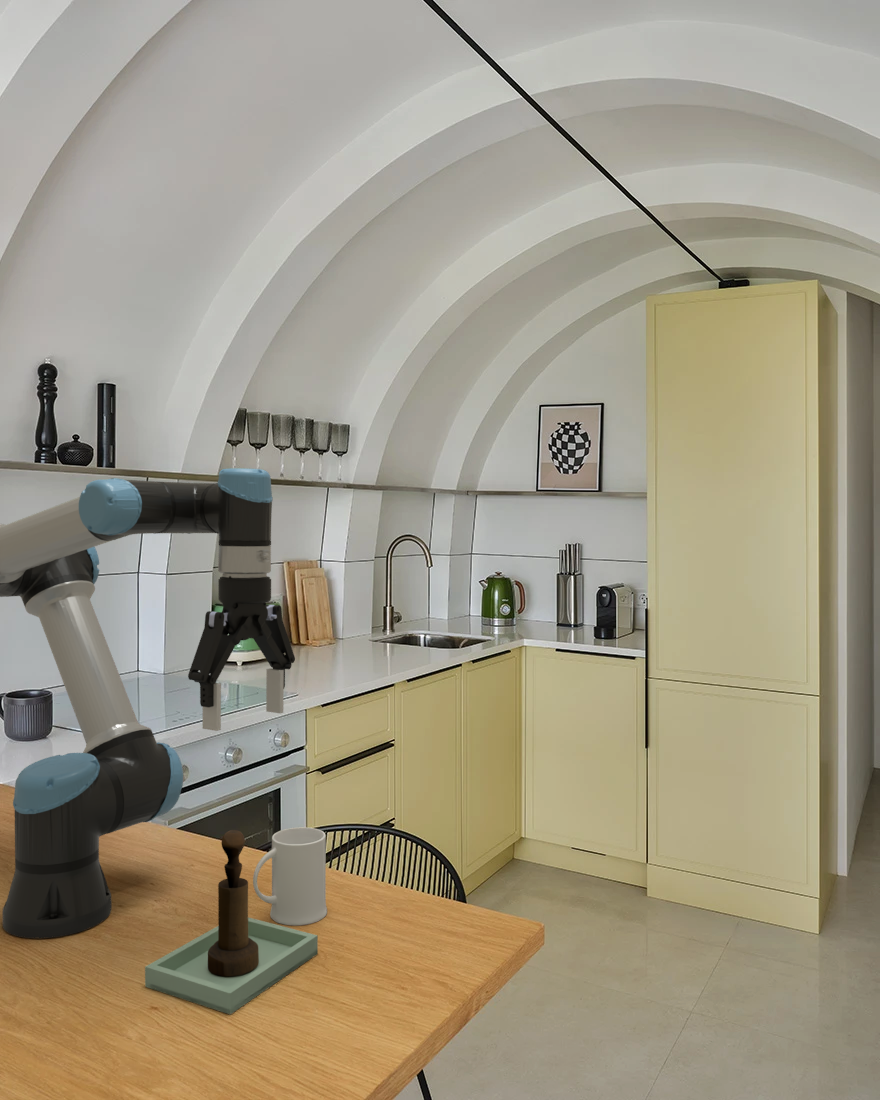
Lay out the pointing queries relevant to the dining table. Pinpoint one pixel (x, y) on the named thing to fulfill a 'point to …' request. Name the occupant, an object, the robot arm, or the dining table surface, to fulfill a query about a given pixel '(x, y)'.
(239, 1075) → the dining table surface
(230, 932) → the wooden pepper mill
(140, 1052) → the dining table surface
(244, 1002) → the tray
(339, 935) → the dining table surface
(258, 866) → the mug
